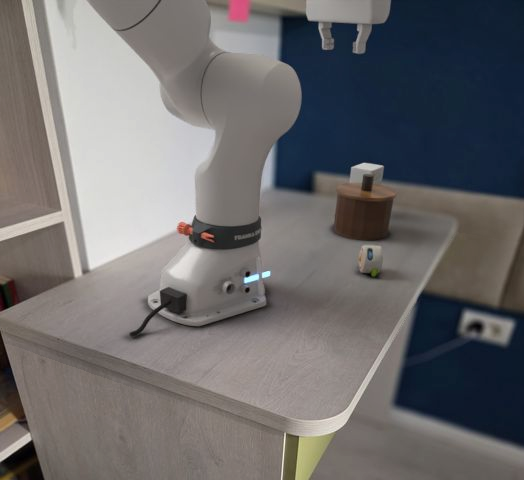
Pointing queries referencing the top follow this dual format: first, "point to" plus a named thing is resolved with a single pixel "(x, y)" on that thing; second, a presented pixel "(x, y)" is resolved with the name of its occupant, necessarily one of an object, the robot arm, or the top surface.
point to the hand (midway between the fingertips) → (342, 51)
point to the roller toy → (371, 259)
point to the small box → (366, 168)
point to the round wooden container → (362, 218)
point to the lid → (366, 190)
